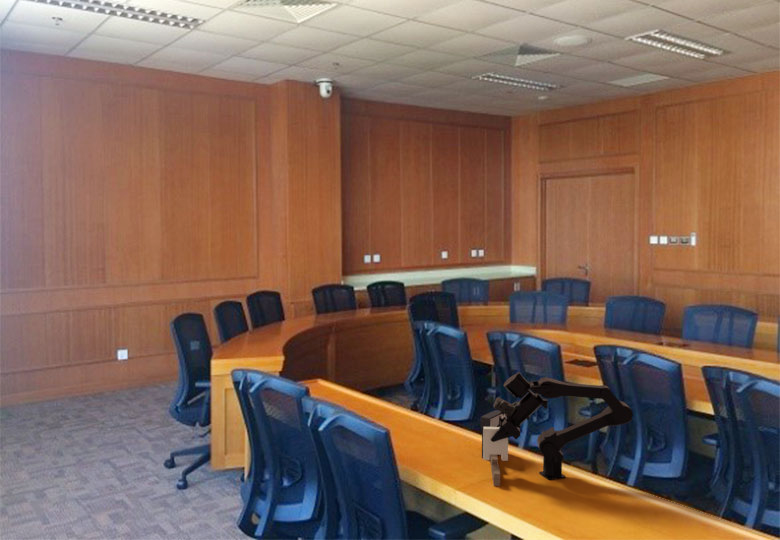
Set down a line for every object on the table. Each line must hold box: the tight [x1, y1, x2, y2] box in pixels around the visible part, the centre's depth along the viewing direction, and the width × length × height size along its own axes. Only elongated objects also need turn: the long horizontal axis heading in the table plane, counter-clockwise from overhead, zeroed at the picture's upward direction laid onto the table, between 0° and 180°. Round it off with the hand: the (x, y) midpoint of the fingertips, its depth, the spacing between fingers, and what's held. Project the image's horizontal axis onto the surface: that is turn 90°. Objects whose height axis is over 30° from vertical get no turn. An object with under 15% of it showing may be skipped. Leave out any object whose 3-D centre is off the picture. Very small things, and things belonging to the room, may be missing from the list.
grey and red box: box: [480, 409, 503, 459], centre depth 239 cm, size 11×4×15 cm, turn 143°
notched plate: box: [482, 427, 509, 462], centre depth 221 cm, size 8×2×10 cm, turn 84°
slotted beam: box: [489, 454, 501, 487], centre depth 222 cm, size 22×2×4 cm, turn 174°
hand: (491, 439), depth 221 cm, fingers closed on notched plate, 2 cm apart
